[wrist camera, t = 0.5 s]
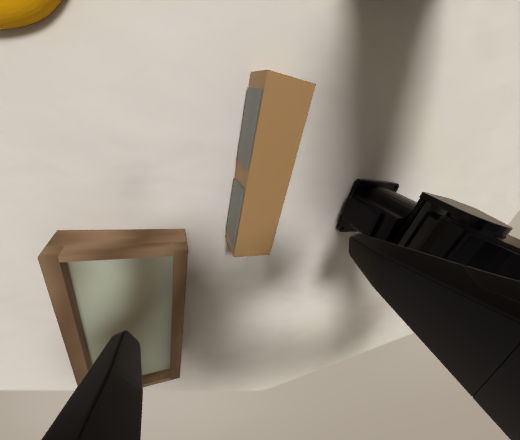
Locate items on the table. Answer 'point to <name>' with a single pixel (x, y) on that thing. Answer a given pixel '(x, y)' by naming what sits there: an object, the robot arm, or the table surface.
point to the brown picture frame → (119, 294)
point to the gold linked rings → (24, 12)
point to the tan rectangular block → (265, 159)
